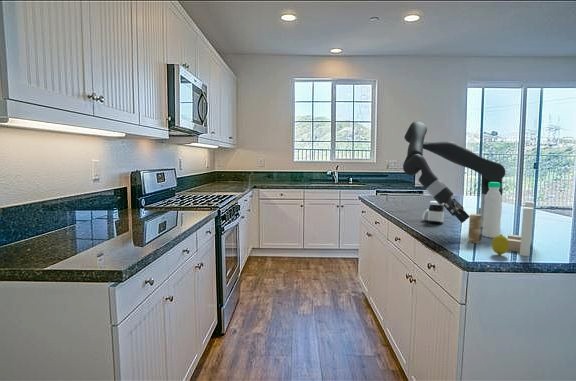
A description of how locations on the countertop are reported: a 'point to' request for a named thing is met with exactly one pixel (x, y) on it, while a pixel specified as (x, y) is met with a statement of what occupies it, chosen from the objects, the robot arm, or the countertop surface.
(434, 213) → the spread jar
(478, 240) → the tan wooden block
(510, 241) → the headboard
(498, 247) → the lemon
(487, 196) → the water bottle
